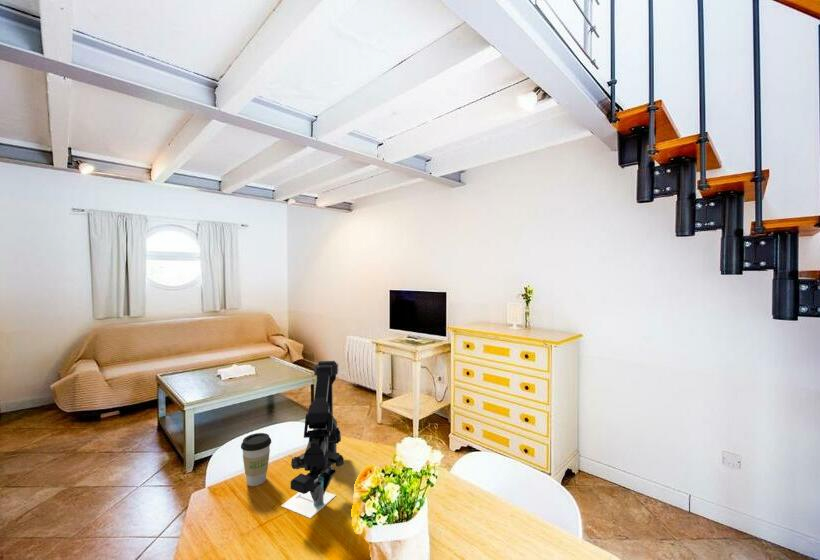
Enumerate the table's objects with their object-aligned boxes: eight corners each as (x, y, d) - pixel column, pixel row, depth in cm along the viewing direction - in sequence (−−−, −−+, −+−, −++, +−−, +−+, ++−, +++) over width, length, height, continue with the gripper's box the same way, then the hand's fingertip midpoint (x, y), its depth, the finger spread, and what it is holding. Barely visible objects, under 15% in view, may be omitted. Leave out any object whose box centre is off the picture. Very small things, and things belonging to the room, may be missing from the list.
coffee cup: (264, 489, 120) (264, 445, 119) (235, 489, 120) (235, 445, 120) (276, 472, 130) (275, 432, 129) (249, 472, 130) (249, 431, 129)
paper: (307, 485, 122) (307, 485, 122) (335, 495, 117) (335, 495, 117) (280, 506, 111) (280, 505, 111) (310, 518, 106) (310, 517, 106)
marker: (318, 499, 114) (318, 475, 114) (325, 502, 113) (325, 477, 113) (311, 505, 112) (311, 480, 111) (319, 508, 110) (319, 483, 110)
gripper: (318, 431, 124) (318, 475, 124) (276, 456, 107) (276, 507, 107) (344, 438, 119) (344, 484, 119) (305, 466, 102) (305, 519, 102)
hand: (318, 497), depth 112 cm, fingers closed on marker, 3 cm apart
